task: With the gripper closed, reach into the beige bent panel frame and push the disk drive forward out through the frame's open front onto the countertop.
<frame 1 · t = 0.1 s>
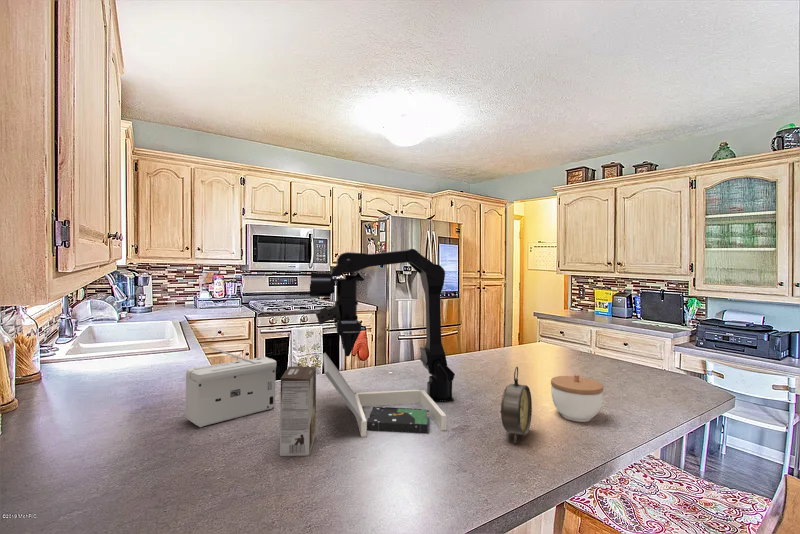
hand: (346, 352, 110), 15 cm above the countertop, tool pointing down, fingers open, 9 cm apart
beige bent panel frame: (399, 423, 97), on the countertop
lidded bowl: (575, 417, 103), on the countertop
coffee box: (298, 447, 84), on the countertop
alarm clock: (515, 437, 91), on the countertop
disk drive: (399, 426, 97), on the countertop
stereo radio cassette player: (233, 415, 101), on the countertop
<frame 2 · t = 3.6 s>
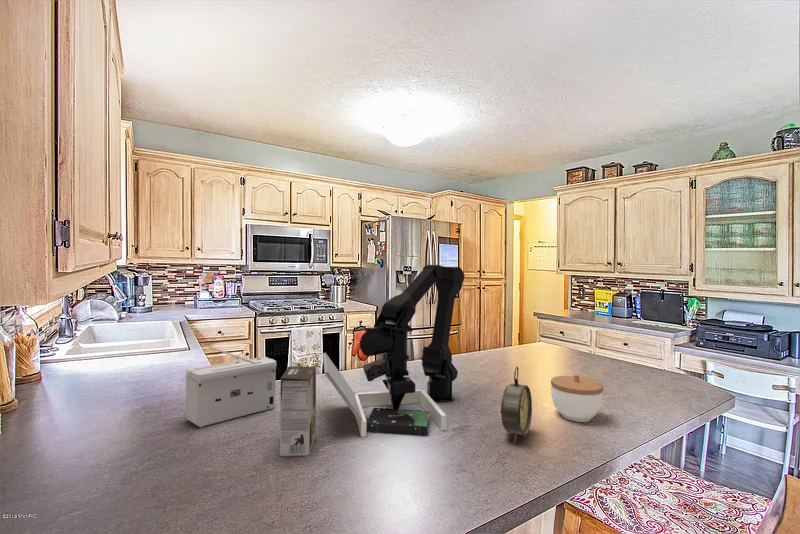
hand: (395, 409, 102), 2 cm above the countertop, tool pointing down, fingers closed
disk drive: (399, 427, 96), on the countertop, touching gripper
everything else where it was.
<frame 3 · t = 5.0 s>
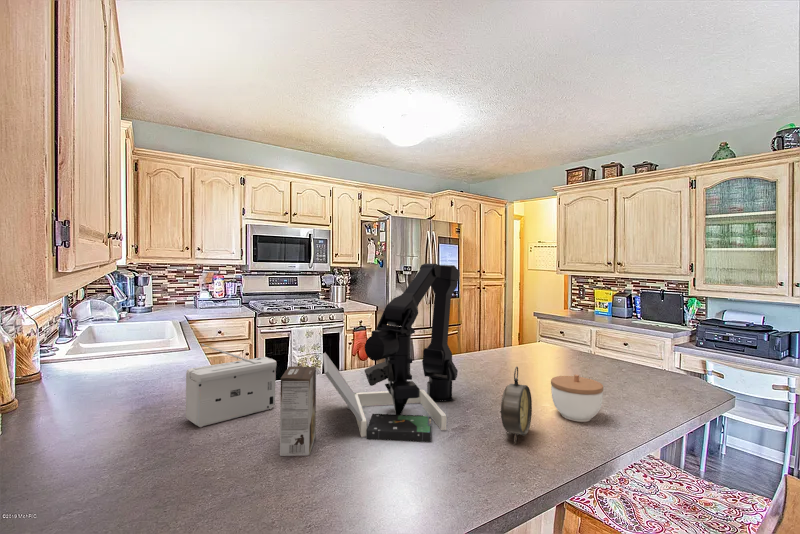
hand: (398, 415, 98), 2 cm above the countertop, tool pointing down, fingers closed
disk drive: (400, 434, 92), on the countertop, touching gripper
everything else where it was.
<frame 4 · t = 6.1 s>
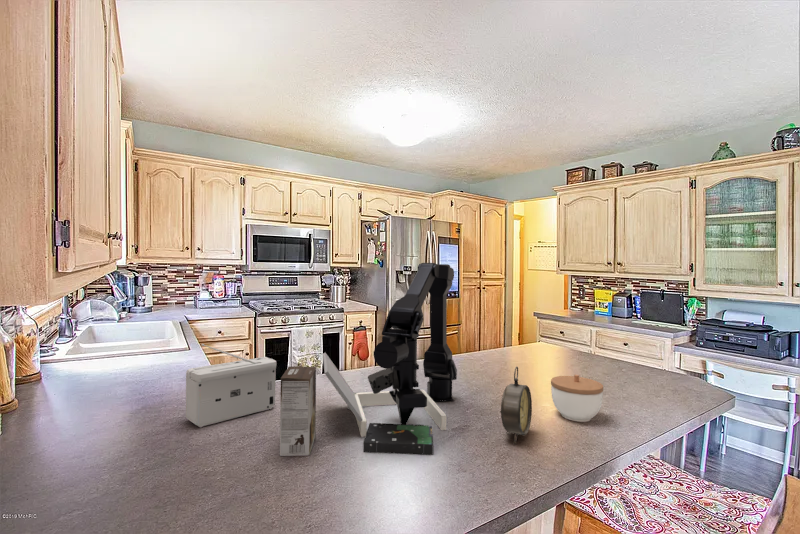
hand: (403, 424, 92), 2 cm above the countertop, tool pointing down, fingers closed
disk drive: (399, 445, 87), on the countertop
everything else where it was.
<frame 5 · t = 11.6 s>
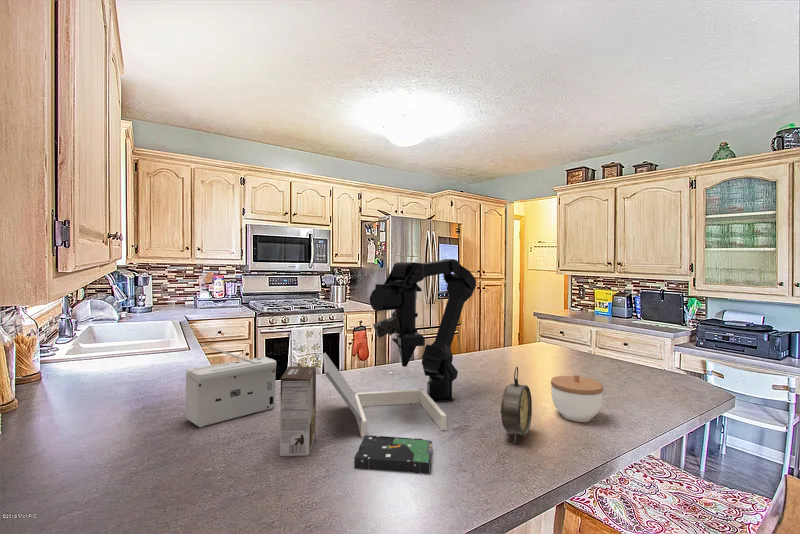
hand: (404, 366, 105), 12 cm above the countertop, tool pointing down, fingers closed
disk drive: (394, 461, 79), on the countertop
everything else where it was.
at the end: disk drive inside the target area on the countertop beside the beige bent panel frame (6.1 cm from its centre), on the countertop; disk drive tilted 2° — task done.
